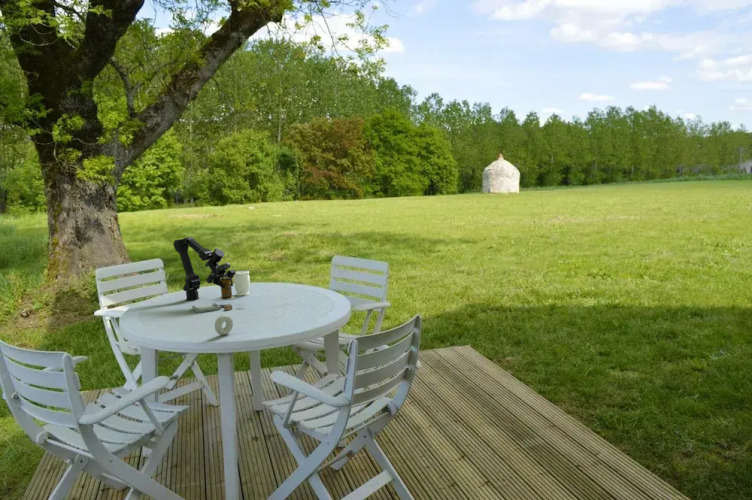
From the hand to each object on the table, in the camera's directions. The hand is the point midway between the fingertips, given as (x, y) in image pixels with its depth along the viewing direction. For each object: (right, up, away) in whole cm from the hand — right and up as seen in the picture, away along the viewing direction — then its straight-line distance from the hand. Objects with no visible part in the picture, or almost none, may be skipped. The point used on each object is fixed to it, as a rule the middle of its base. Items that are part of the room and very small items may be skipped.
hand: (228, 287), depth 332 cm
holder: (-11, -13, -7) cm, 18 cm away
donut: (+15, -19, -63) cm, 67 cm away
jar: (+1, -7, +31) cm, 32 cm away
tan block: (+3, -12, -10) cm, 16 cm away
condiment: (-1, -7, +1) cm, 7 cm away
